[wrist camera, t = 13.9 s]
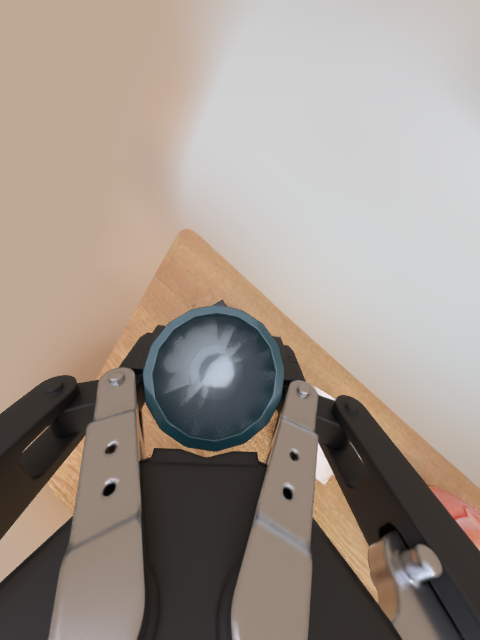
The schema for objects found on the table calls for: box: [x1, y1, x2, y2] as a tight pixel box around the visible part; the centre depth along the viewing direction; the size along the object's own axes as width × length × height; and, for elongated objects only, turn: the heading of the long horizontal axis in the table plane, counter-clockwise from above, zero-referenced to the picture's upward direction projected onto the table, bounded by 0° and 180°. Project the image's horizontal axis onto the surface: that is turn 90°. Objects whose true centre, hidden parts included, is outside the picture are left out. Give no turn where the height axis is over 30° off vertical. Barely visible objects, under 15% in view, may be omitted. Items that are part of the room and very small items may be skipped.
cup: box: [143, 305, 284, 452], centre depth 13 cm, size 6×6×11 cm
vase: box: [427, 485, 480, 551], centre depth 22 cm, size 14×14×18 cm
